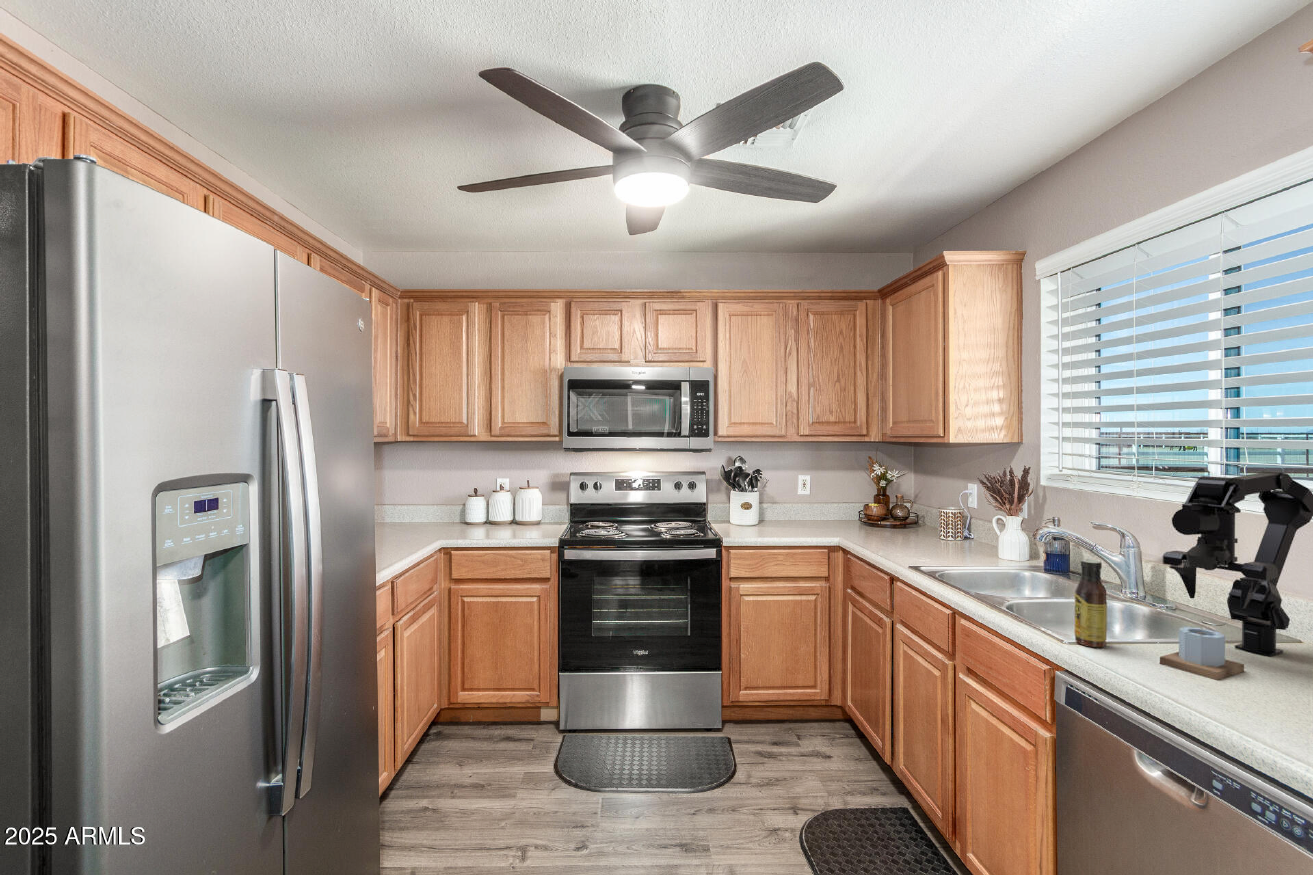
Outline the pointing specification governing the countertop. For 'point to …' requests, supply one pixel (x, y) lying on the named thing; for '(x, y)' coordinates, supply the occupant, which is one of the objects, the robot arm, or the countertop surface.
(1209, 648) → the blue roll
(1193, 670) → the roll holder
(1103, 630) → the sauce bottle
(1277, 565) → the robot arm
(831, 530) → the countertop surface
